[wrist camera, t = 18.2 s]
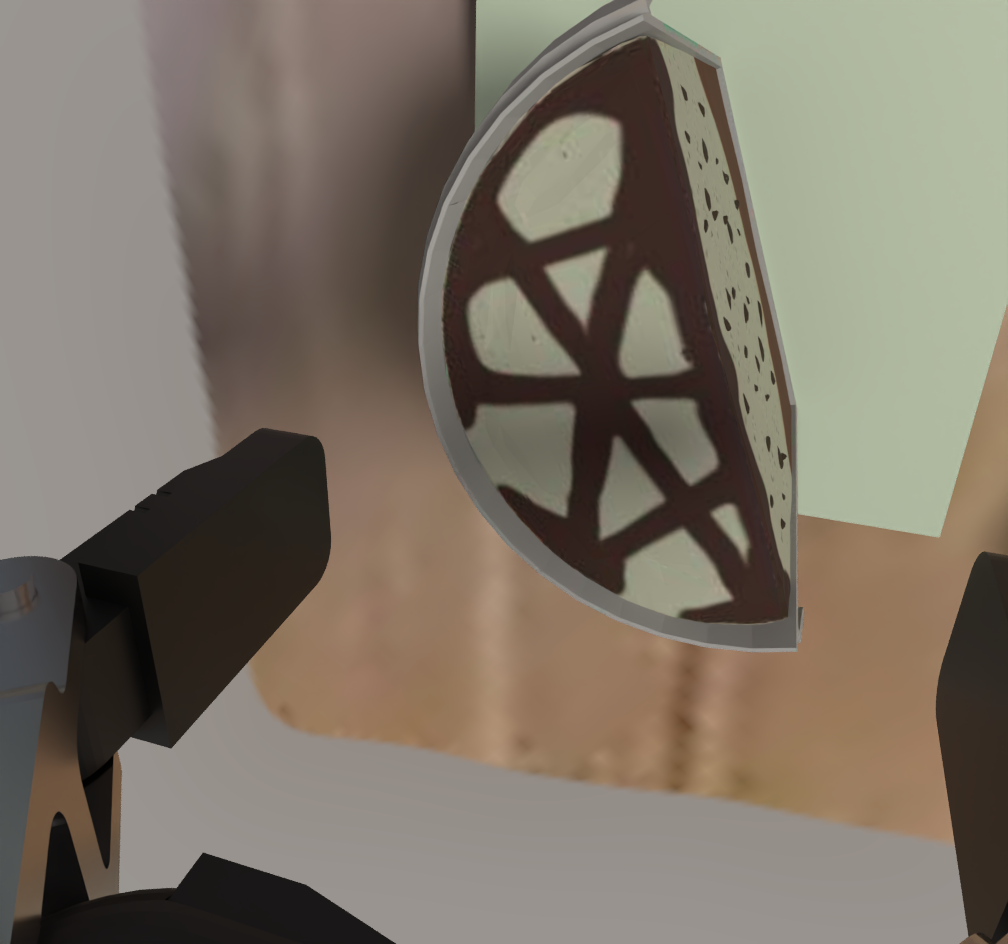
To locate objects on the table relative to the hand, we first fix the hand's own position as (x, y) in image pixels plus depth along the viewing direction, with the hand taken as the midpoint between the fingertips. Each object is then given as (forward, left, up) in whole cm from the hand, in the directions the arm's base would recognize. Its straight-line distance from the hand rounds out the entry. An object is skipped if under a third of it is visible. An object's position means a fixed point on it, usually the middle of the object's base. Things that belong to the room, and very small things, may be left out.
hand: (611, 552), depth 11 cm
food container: (+2, 0, -15) cm, 15 cm away
